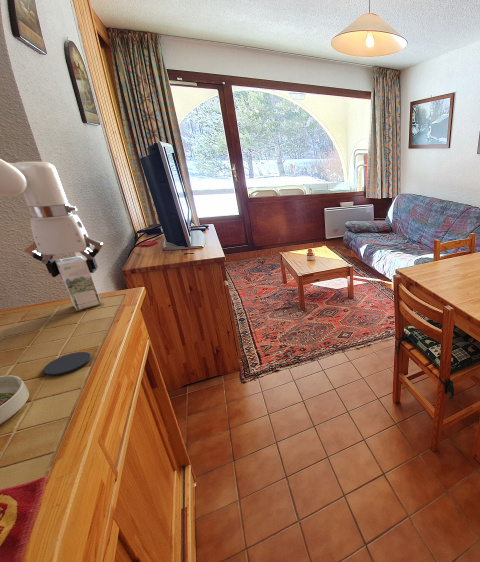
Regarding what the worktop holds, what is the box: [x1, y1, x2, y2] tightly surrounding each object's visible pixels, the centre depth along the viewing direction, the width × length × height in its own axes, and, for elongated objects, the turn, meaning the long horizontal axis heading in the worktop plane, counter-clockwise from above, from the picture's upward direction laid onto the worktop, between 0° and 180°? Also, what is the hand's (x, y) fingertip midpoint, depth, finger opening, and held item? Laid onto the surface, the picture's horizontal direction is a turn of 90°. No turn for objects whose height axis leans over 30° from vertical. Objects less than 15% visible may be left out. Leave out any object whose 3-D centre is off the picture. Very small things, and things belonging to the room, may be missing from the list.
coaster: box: [42, 351, 92, 377], centre depth 67 cm, size 8×8×1 cm
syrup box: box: [54, 255, 102, 312], centre depth 90 cm, size 6×6×14 cm
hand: (75, 273), depth 88 cm, fingers closed on syrup box, 7 cm apart
